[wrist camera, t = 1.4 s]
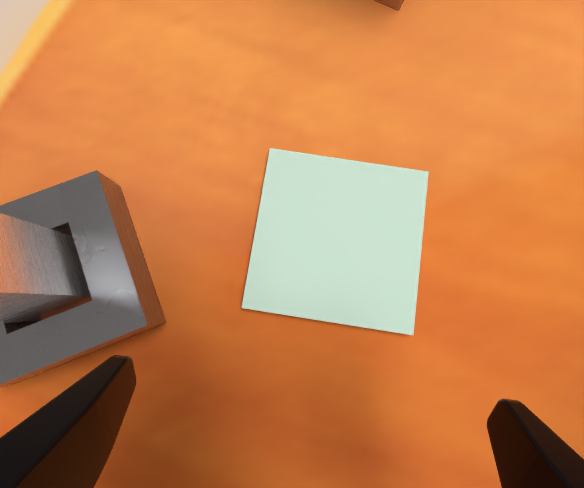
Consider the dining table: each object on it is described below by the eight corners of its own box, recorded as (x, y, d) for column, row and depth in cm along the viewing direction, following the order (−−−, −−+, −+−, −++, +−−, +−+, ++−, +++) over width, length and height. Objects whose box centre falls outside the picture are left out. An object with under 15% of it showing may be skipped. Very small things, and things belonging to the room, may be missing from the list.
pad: (409, 334, 23) (413, 335, 22) (243, 307, 23) (241, 307, 22) (424, 176, 24) (428, 171, 24) (270, 153, 25) (269, 148, 24)
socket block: (165, 322, 23) (147, 325, 20) (15, 383, 22) (-27, 395, 19) (120, 186, 24) (96, 170, 21) (-22, 239, 23) (-66, 230, 21)
